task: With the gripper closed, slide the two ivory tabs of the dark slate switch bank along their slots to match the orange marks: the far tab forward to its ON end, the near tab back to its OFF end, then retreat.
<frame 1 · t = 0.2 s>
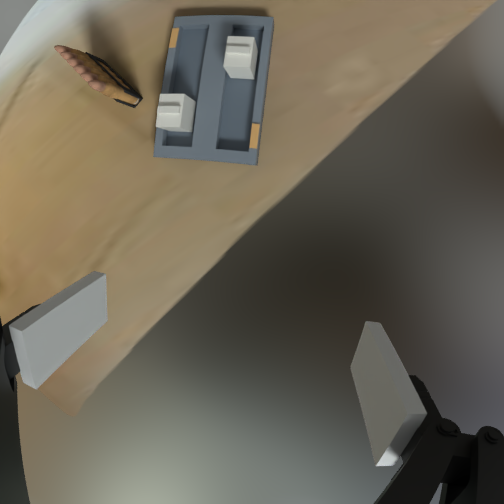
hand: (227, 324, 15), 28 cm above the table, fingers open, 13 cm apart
ammunition clip: (118, 83, 38), on the table
tab B: (176, 113, 35), point 4 cm above the table, slide at 4.5 cm
switch bank: (216, 87, 37), on the table
tab A: (241, 57, 32), point 4 cm above the table, slide at -3.0 cm
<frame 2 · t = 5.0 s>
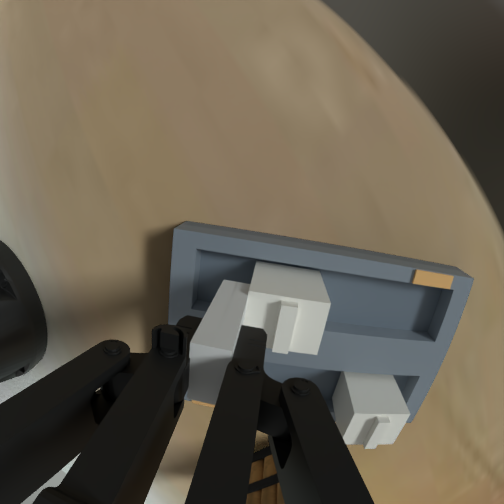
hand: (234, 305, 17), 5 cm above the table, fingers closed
ammunition clip: (266, 452, 27), on the table
tab B: (368, 408, 19), point 4 cm above the table, slide at 4.5 cm
switch bank: (314, 330, 23), on the table
tab A: (284, 306, 18), point 4 cm above the table, slide at -2.9 cm, touching gripper
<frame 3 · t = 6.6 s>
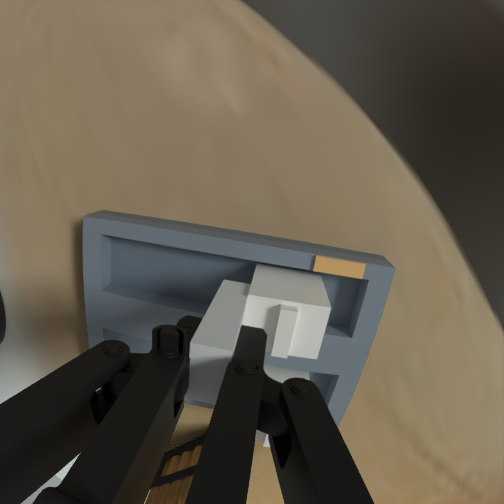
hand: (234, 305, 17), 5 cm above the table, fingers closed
ammunition clip: (200, 443, 27), on the table
tab B: (275, 404, 19), point 4 cm above the table, slide at 4.5 cm
switch bank: (224, 319, 23), on the table
tab A: (284, 309, 17), point 4 cm above the table, slide at 3.7 cm, touching gripper
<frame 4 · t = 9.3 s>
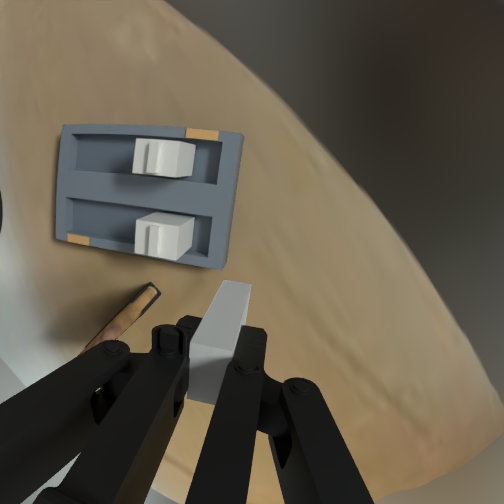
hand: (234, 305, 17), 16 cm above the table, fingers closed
ammunition clip: (130, 311, 36), on the table
tab B: (164, 234, 29), point 4 cm above the table, slide at 4.5 cm
switch bank: (142, 188, 32), on the table
tab A: (164, 157, 27), point 4 cm above the table, slide at 3.7 cm
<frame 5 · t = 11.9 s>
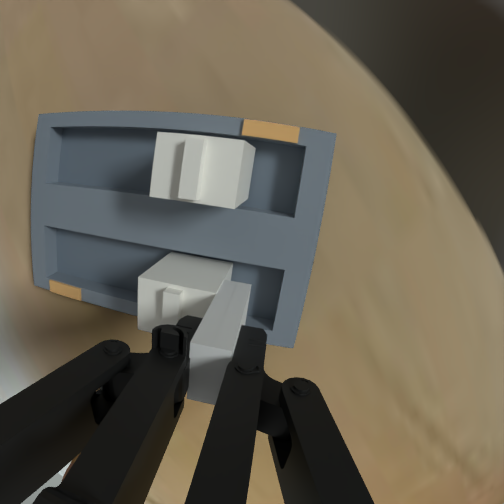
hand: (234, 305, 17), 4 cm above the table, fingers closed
tab B: (186, 296, 17), point 4 cm above the table, slide at 3.4 cm, touching gripper
switch bank: (162, 214, 21), on the table
tab A: (206, 168, 16), point 4 cm above the table, slide at 3.7 cm
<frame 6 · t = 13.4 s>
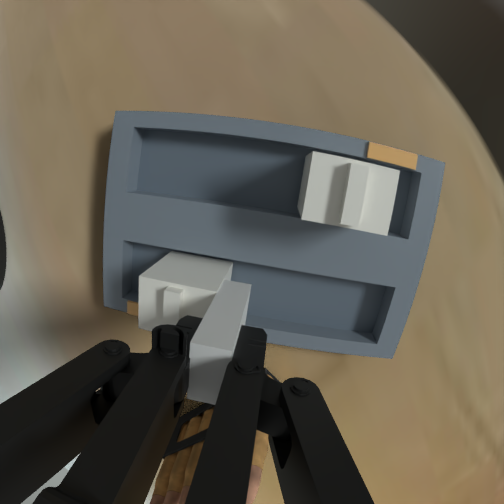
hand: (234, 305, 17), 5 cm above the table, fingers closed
ammunition clip: (223, 401, 25), on the table
tab B: (187, 295, 18), point 4 cm above the table, slide at -3.5 cm, touching gripper
switch bank: (264, 229, 21), on the table
tab A: (343, 190, 15), point 4 cm above the table, slide at 3.7 cm
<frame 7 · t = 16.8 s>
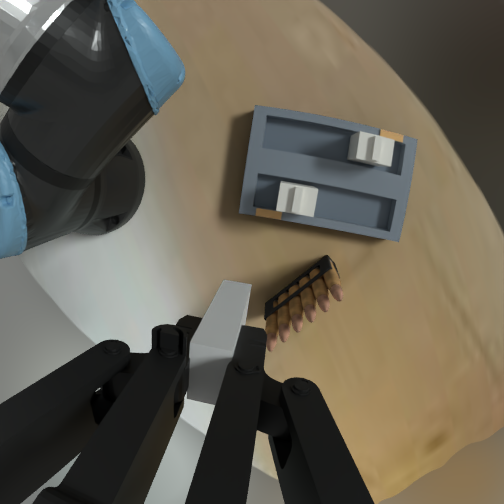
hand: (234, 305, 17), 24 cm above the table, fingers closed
ammunition clip: (299, 284, 42), on the table
tab B: (296, 197, 35), point 4 cm above the table, slide at -3.7 cm
switch bank: (328, 172, 38), on the table
tab A: (370, 149, 33), point 4 cm above the table, slide at 3.7 cm
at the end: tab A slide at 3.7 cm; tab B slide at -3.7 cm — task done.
